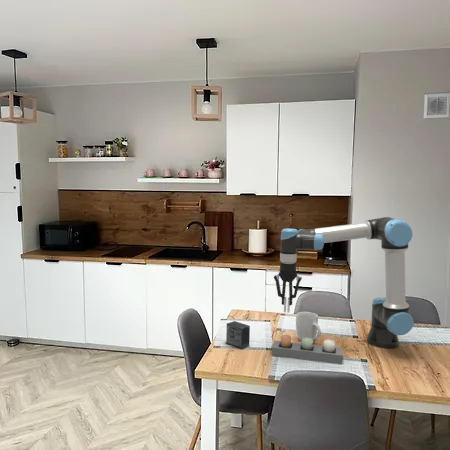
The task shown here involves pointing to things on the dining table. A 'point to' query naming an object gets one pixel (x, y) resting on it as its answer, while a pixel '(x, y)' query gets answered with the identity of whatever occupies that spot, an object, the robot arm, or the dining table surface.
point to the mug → (307, 325)
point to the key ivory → (329, 345)
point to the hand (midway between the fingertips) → (286, 311)
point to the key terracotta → (285, 340)
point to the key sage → (307, 343)
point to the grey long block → (307, 353)
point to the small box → (238, 334)
